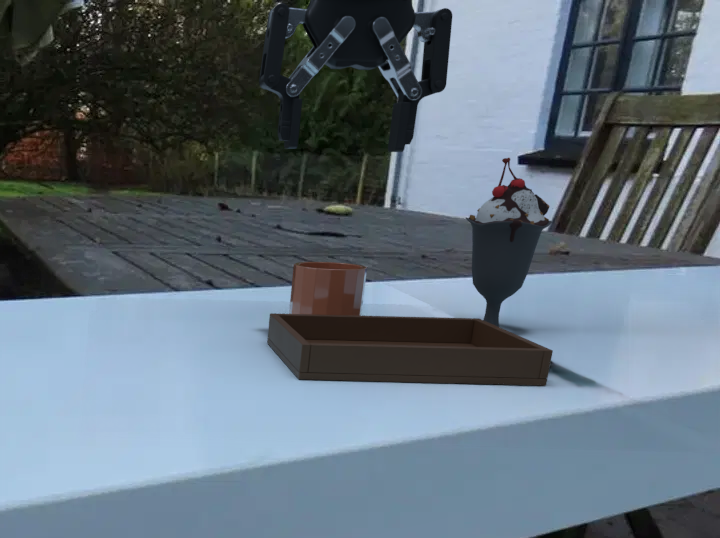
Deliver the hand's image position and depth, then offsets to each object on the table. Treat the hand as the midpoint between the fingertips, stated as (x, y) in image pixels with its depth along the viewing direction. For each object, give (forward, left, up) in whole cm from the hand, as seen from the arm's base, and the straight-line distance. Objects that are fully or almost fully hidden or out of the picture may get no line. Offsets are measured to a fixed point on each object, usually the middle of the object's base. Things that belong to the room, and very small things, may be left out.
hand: (343, 150), depth 75 cm
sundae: (-14, 0, -16) cm, 21 cm away
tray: (-3, +10, -15) cm, 19 cm away
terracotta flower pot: (0, -1, -15) cm, 15 cm away
